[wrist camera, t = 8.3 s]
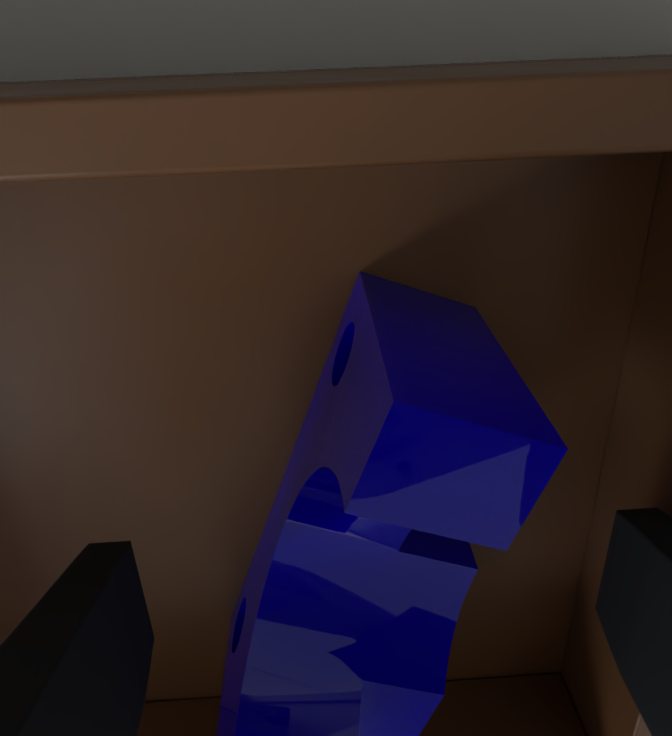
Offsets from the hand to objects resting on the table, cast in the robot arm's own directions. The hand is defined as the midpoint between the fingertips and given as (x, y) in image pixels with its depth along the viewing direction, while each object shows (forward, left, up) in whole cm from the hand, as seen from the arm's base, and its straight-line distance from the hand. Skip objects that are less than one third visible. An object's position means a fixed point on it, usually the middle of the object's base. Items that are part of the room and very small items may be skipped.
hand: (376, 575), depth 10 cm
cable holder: (0, 0, -3) cm, 3 cm away
